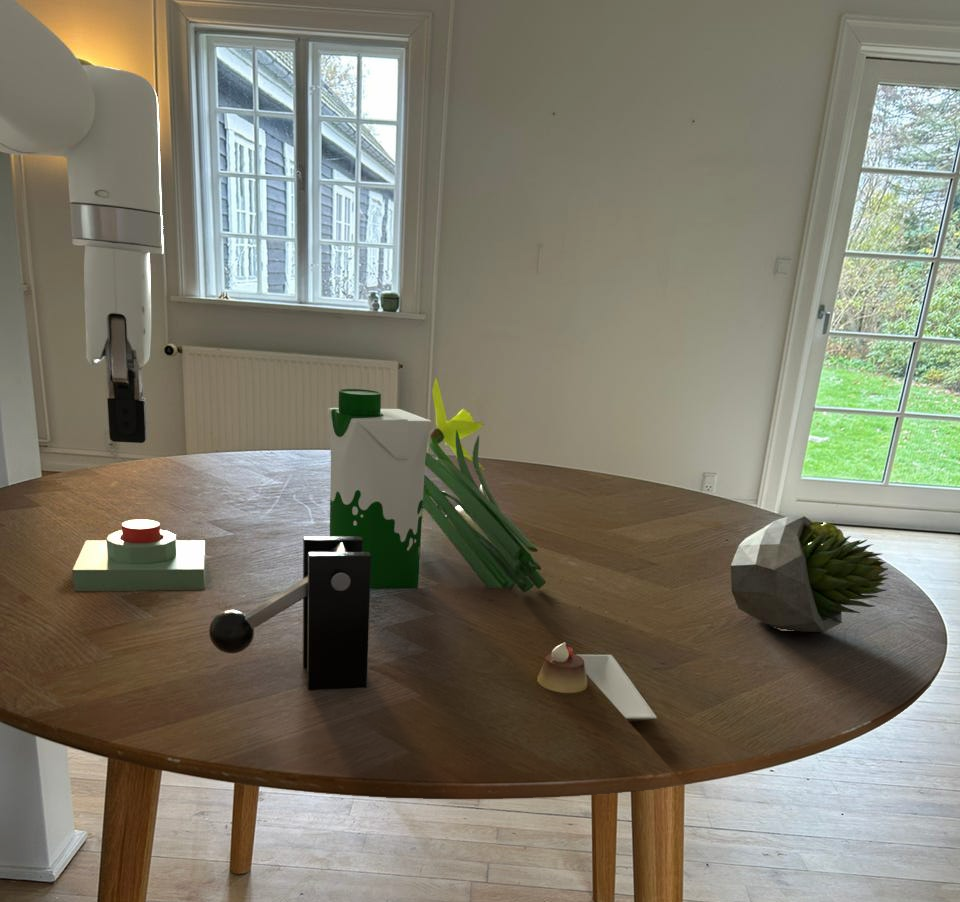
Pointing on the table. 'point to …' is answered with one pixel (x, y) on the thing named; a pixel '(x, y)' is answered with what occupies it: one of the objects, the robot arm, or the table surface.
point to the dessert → (570, 676)
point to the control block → (140, 564)
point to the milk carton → (378, 484)
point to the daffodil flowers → (474, 509)
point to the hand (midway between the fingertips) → (128, 440)
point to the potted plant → (803, 575)
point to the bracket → (336, 613)
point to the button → (141, 531)
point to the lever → (255, 616)
